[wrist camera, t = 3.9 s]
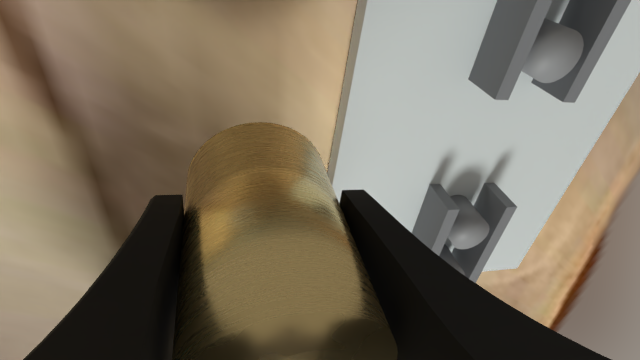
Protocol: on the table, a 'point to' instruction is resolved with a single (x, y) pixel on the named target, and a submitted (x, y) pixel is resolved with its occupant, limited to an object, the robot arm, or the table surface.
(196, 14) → the table surface
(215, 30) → the table surface
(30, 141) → the table surface
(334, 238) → the pin
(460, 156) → the chain base
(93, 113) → the table surface
